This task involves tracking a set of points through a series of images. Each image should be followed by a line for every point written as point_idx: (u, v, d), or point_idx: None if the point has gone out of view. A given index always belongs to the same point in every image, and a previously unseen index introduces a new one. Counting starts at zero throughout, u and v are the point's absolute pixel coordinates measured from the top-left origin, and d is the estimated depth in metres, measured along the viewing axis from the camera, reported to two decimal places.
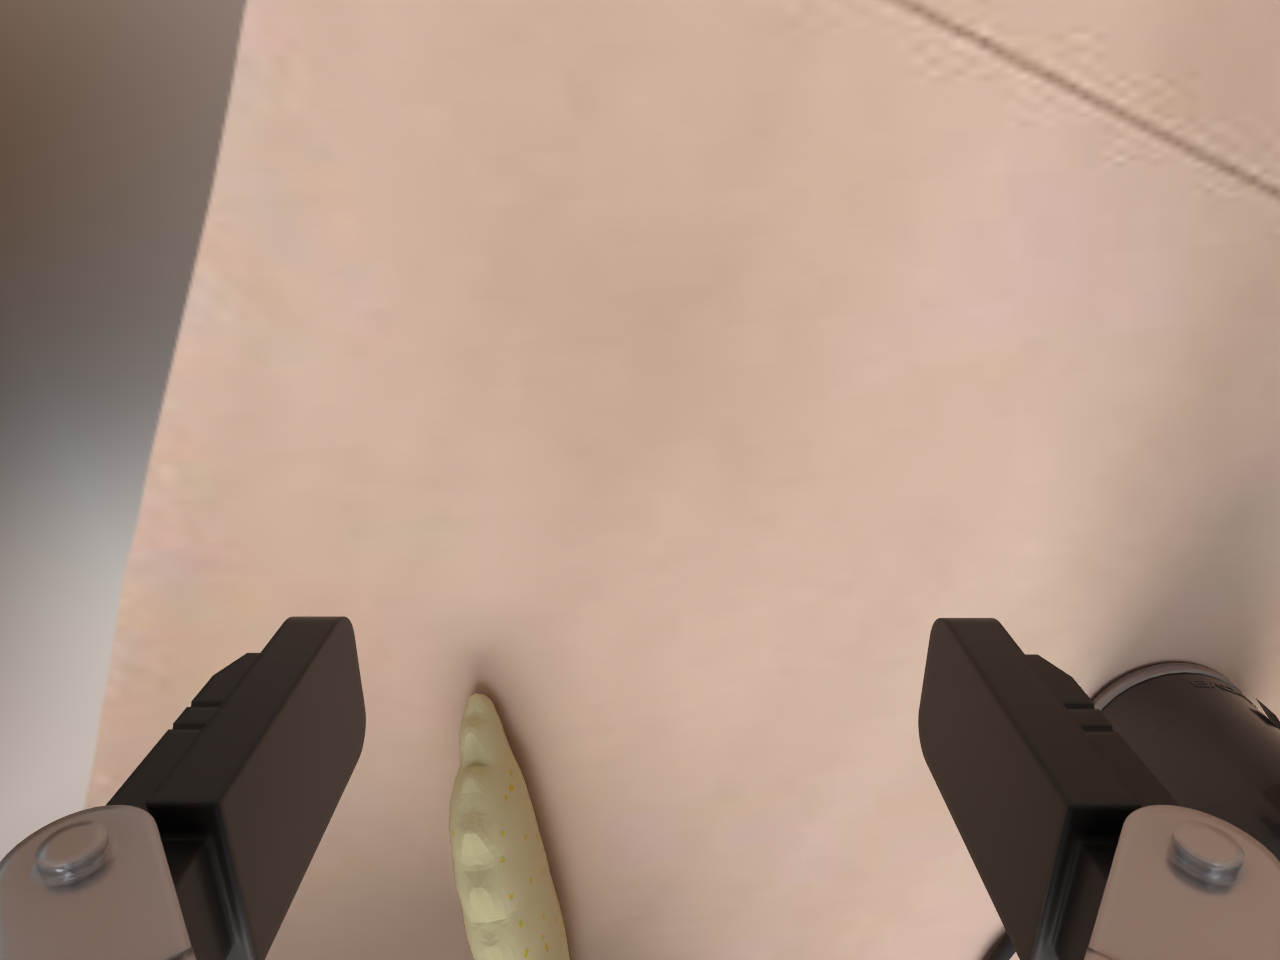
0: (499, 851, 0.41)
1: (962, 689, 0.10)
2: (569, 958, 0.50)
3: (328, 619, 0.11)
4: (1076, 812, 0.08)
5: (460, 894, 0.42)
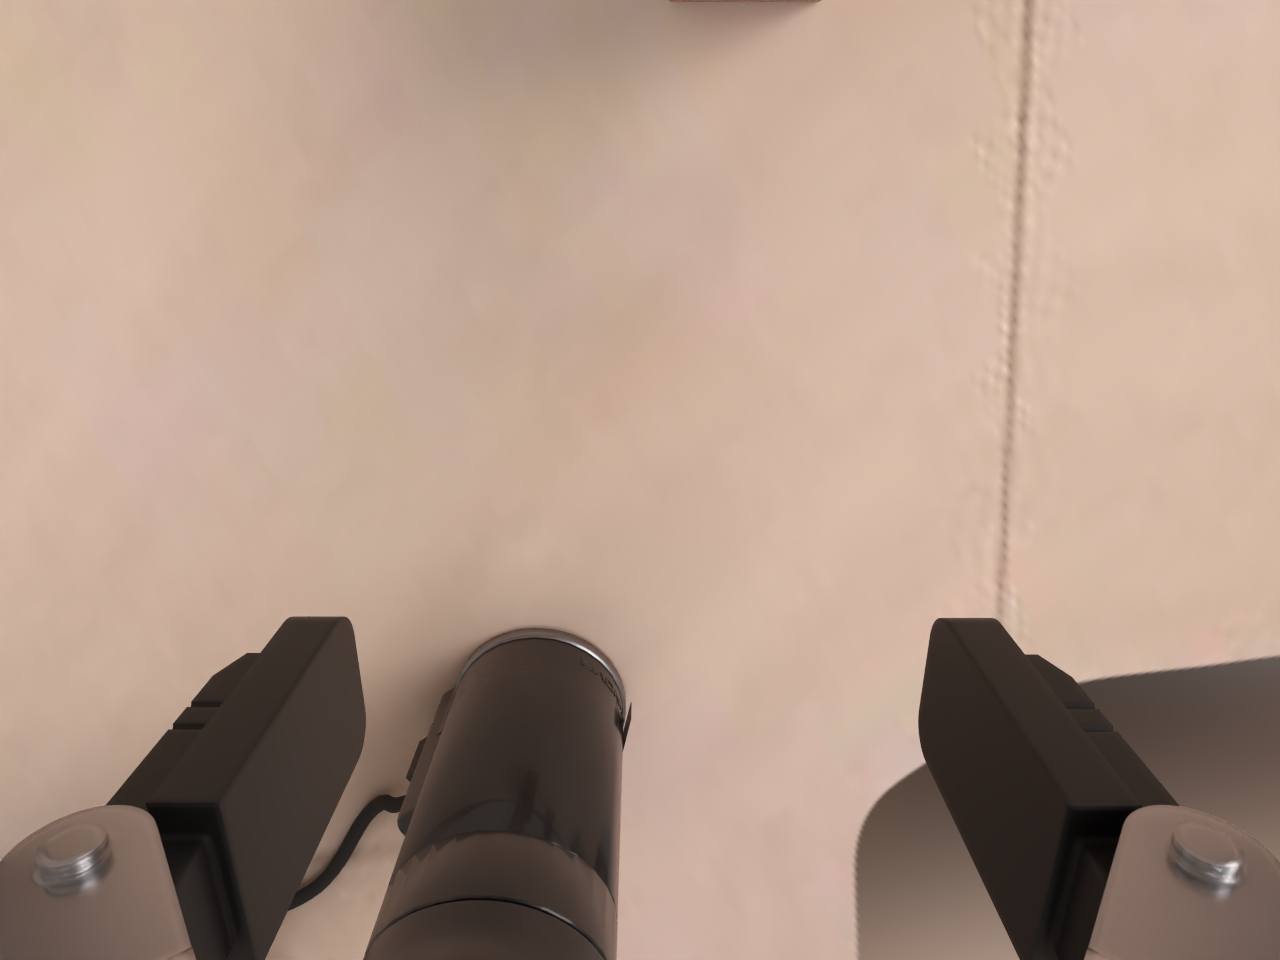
0: None
1: (962, 689, 0.10)
2: None
3: (328, 619, 0.11)
4: (1076, 812, 0.08)
5: None
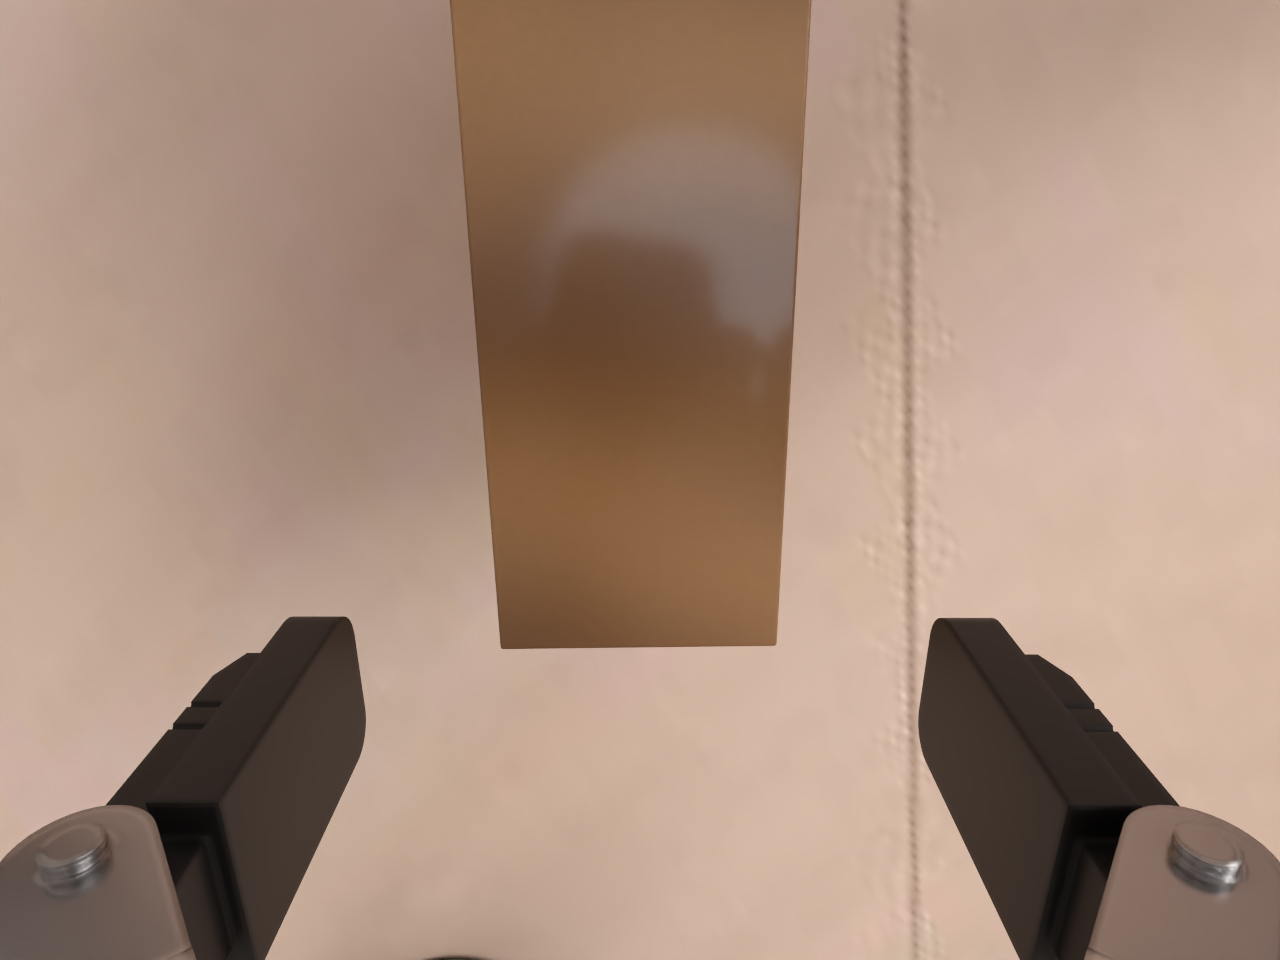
0: None
1: (962, 689, 0.10)
2: None
3: (328, 619, 0.11)
4: (1076, 813, 0.08)
5: None
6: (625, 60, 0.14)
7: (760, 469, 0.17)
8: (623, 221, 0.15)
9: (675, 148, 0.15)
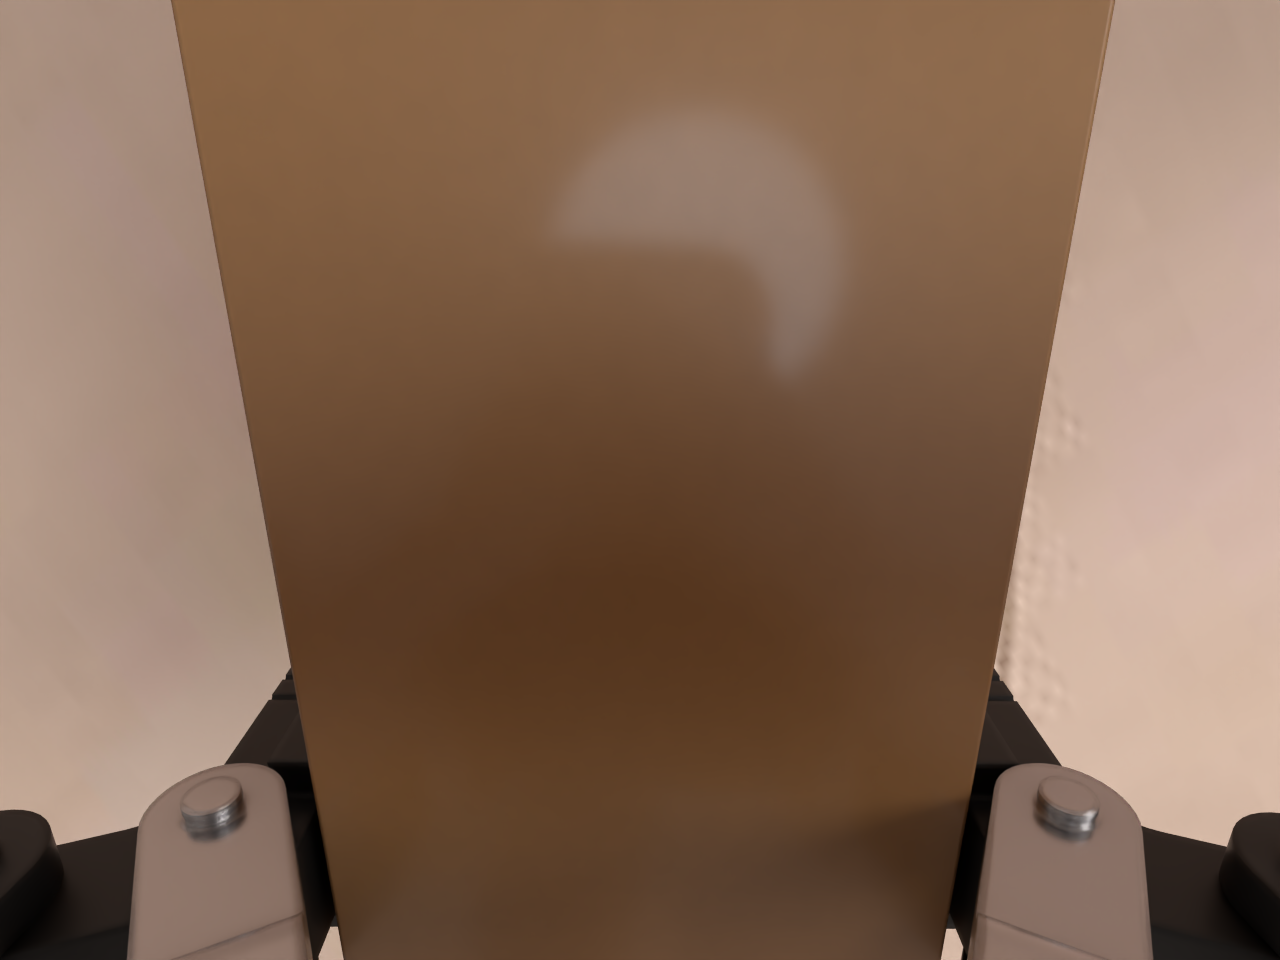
0: None
1: None
2: None
3: None
4: None
5: None
6: (627, 28, 0.05)
7: (899, 895, 0.08)
8: (617, 417, 0.06)
9: (750, 251, 0.06)
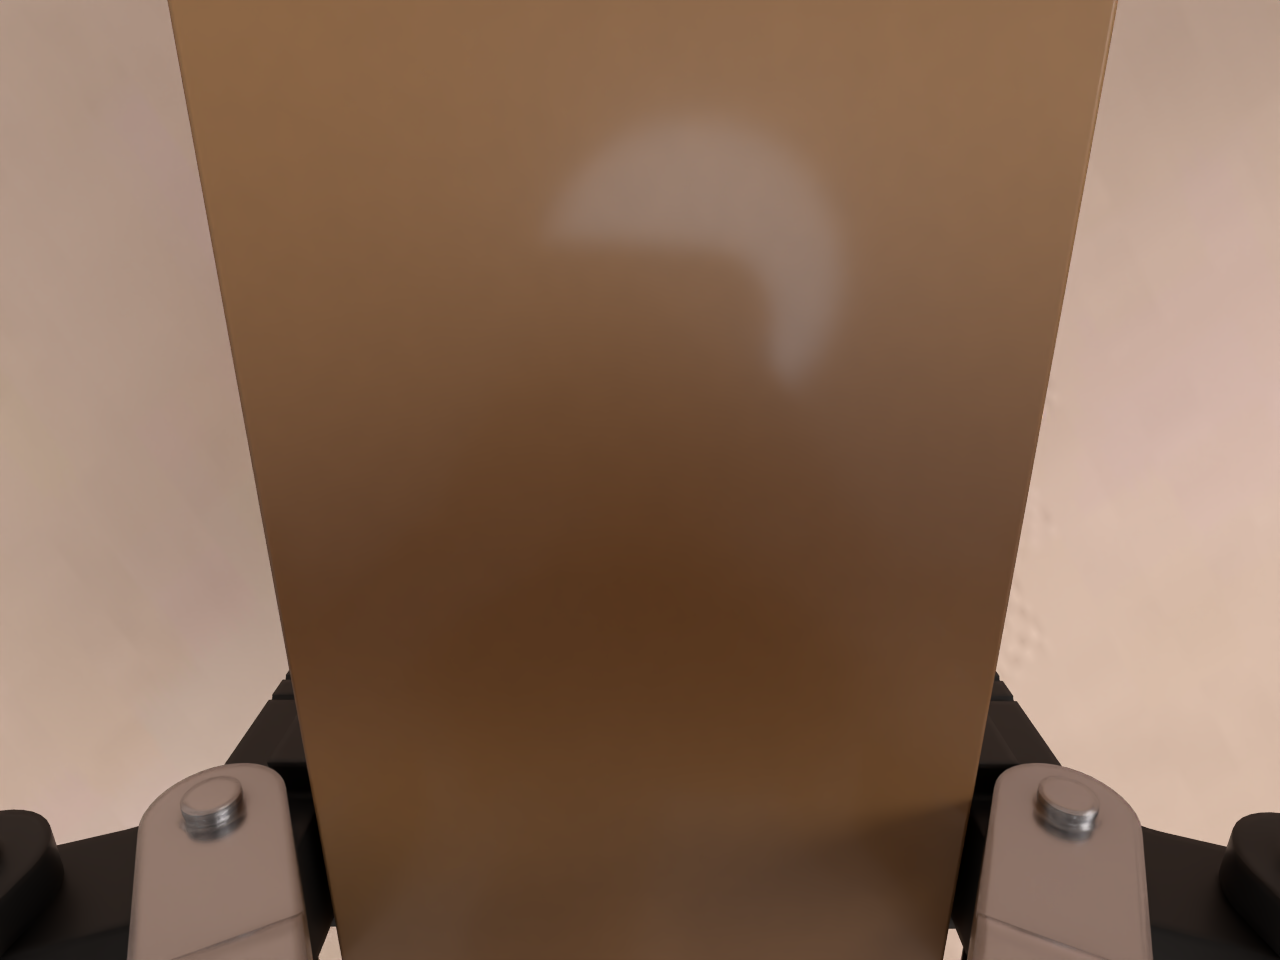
0: None
1: None
2: None
3: None
4: None
5: None
6: (626, 27, 0.05)
7: (900, 899, 0.08)
8: (617, 419, 0.06)
9: (750, 252, 0.06)
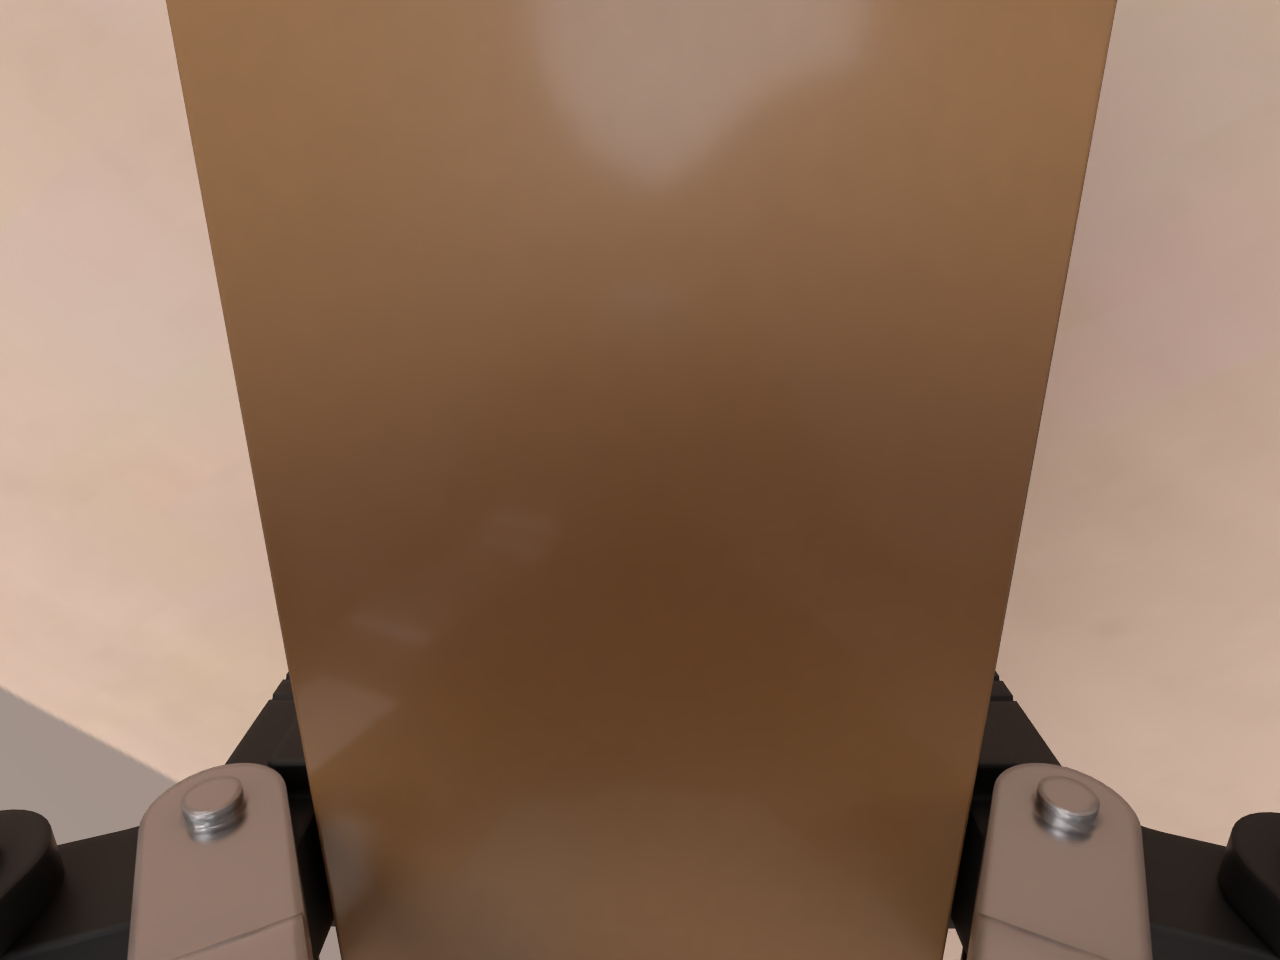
0: None
1: None
2: None
3: None
4: None
5: None
6: (624, 2, 0.05)
7: (902, 889, 0.08)
8: (616, 403, 0.06)
9: (751, 233, 0.06)
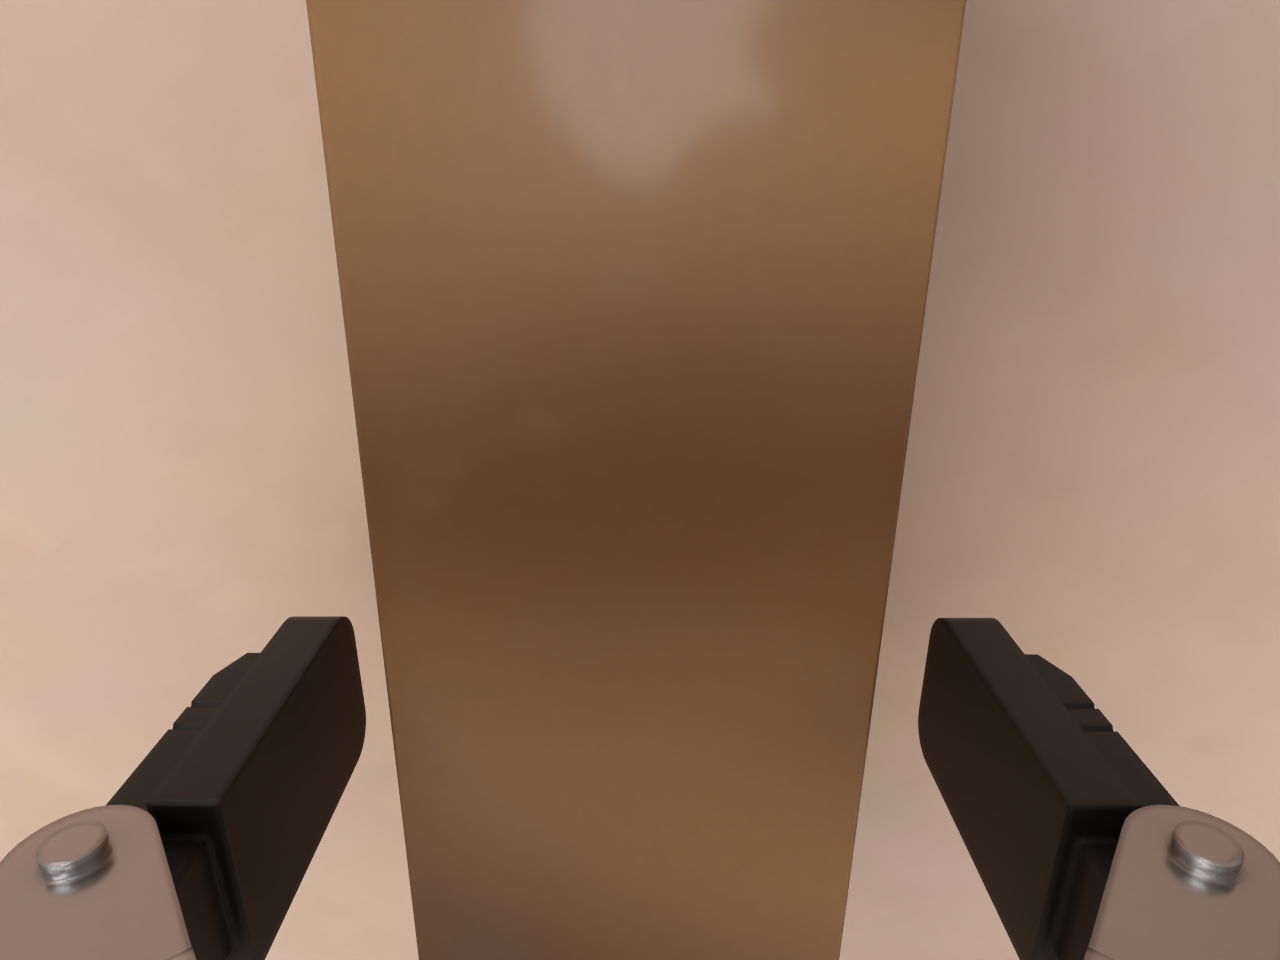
0: None
1: (962, 689, 0.10)
2: None
3: (328, 619, 0.11)
4: (1076, 812, 0.08)
5: None
6: (626, 86, 0.08)
7: (829, 736, 0.11)
8: (615, 360, 0.09)
9: (709, 241, 0.08)
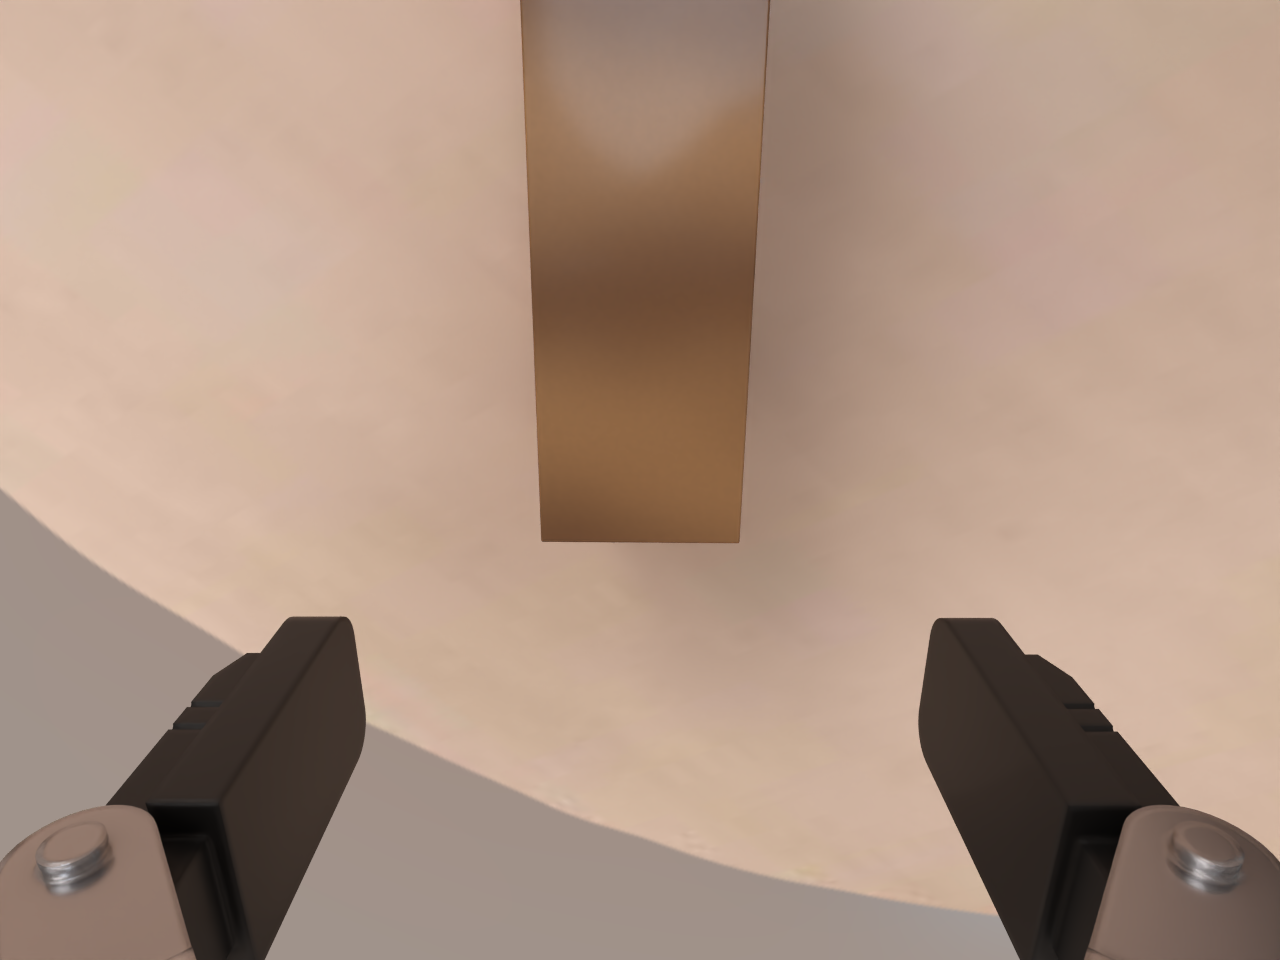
0: None
1: (962, 689, 0.10)
2: None
3: (328, 619, 0.11)
4: (1076, 812, 0.08)
5: None
6: (640, 132, 0.21)
7: (728, 414, 0.24)
8: (635, 239, 0.22)
9: (672, 191, 0.22)
